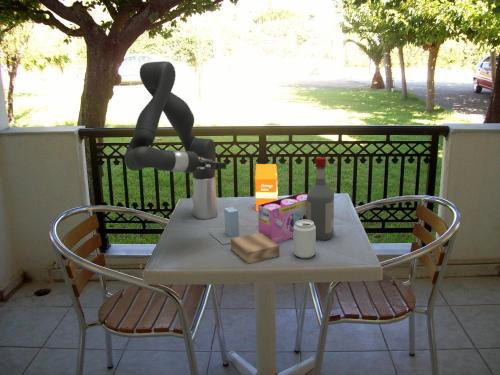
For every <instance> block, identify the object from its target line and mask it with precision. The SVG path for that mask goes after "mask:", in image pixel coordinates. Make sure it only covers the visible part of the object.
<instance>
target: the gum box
mask: <svg viewBox="0 0 500 375" xmlns="http://www.w3.org/2000/svg"><path fill="white" fill-rule="evenodd" d="M307 195H308V193H306V192H300V193H296V194H293V195H289V196H286V197H283V198H278V200H275V201H271V202H267V203H264V204H260V205H258V211H257V213H258V214H257V216H258V217H257V218H258V220H257V221H258V233H260V232H261V233H262V234H264V235H265V236H267V237H268V238H269V239H271V240H272V241H274V242H275V243H277V244H278V243H281V241H282V242H284V241H288V240H290V238H291V239H294V225H295V222H296V221H298V220H307Z"/></svg>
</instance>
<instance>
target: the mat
mask: <svg viewBox="0 0 500 375" xmlns="http://www.w3.org/2000/svg"><path fill="white" fill-rule="evenodd" d="M209 234H210V235H211V237H213V238H214V239H216V241H218V242H219V243H220V244H221V245H222V246H224V245H228V244H231V239H232V238H237V237H241V236H246V235H250V234H254V233H253V232H252V231H250V230H248V229H247V228H245V226H242V225H241V224H240V225H239V236H235V237H230V236H228V235H227V234H226V233H225V228H221V229H216V230H212V231H211V230H210V231H208V235H209Z"/></svg>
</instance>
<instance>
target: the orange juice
mask: <svg viewBox="0 0 500 375" xmlns="http://www.w3.org/2000/svg"><path fill="white" fill-rule="evenodd" d="M277 170H278V168H277V164H276V163H273V164H272V163H265V164H263V163H259V164H257V163H256V164H255V177H254V178H255V179H254V180H255V205H256V206H255V208H256V209H255V210H256V212H258V205H260V204H264V203H267V202H271V201H275V200H279V198H278V196H279V194H278V192H279V191H278V186H279V185H278V171H277Z"/></svg>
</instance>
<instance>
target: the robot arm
mask: <svg viewBox="0 0 500 375" xmlns="http://www.w3.org/2000/svg"><path fill="white" fill-rule="evenodd" d="M139 76H140V80H141V82H142V85H143V86H144V88H145V89H146V91H147V92H148V93H149V94H150V96H151V97H152V98H151V99H150V101H148V103H147V104H146V105H145V106H144V107H143V109H142V110H141V111H140V113H139V115H138V117H137V120H136V124H135V128H134V132H133V136H132V138H131V140H130V142H129V143H128V146H127V148H126V150H125V154H124V165H125V166H126V167H127V169H129V170H130V171H134V172H137V171H141V170H143V169H148V168H151V169H155V170H156V171H162V172H163V171H165V172H173V173H186V174H187V173H188V174H192V183H193V193H192V207H193V208H192V210H193V216H194V217H196V219H199V220H207V219H213V218H215V217H217V216H218V205H217V204H218V200H217V187H216V184H217V183H216V170H217V171H220V170H226V169H227V165H228V164H227V162H222V161H221V162H219V161H217V160H216V157H217V156H216V155H217V154H216V153H217V152H216V150H217V148H216V144H215V141H214V140H213V139H212V138H199V137H198V138H197V137H196V136H195V135H194V133H193V131H192V130H193V128H194V124H195V116H194V114H193V112H192V110H191V108H190V106H189V105H188V103H187V102H186V101H185V100H184V99H182V98H181V97H180V96H178V95H177V94H175V93H174V92H172V90H173V88H174V85H175V81H176V77H177V76H176V69H175V67H174V65H173V64H172V63H171V62H170V61H165V60H164V61H149V62H146V63H143V64H142V65H140V68H139ZM162 114H164V115H165V117H166V119H167V120H168V122H169V124H170V125H171V127H172V128H173V130H174V131H175V133H176V135H177V136H178V137H179V140H180V142H181V144H182V146H183V148H184V150H177V149H176V150H171V149H169V150H168V149H159V148H156V147H152V146H151V145H152V144H153V143H154V142H155V139H156V137H157V136H156V135H157V132H158V127H159V123H160V120H161V117H162Z"/></svg>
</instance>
